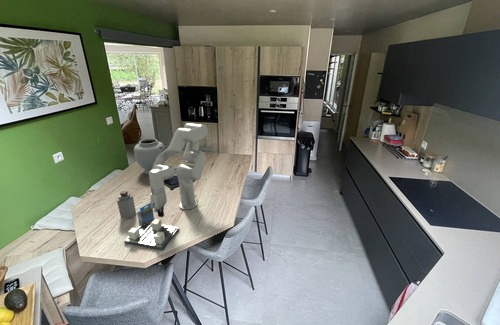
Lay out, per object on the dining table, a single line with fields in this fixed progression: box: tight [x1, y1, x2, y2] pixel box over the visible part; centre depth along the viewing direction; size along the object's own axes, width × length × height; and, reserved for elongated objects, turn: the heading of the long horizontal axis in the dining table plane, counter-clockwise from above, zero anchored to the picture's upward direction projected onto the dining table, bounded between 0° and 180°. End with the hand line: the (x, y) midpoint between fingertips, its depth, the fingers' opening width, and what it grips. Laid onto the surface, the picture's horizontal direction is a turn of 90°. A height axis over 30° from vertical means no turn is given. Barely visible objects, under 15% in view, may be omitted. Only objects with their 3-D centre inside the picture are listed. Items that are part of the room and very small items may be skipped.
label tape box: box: [136, 202, 155, 225], centre depth 152 cm, size 9×4×12 cm, turn 150°
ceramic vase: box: [133, 138, 166, 175], centre depth 221 cm, size 27×27×30 cm
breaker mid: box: [150, 218, 163, 231], centre depth 143 cm, size 4×4×5 cm
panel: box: [123, 221, 180, 252], centre depth 140 cm, size 18×24×3 cm
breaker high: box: [154, 232, 165, 244], centre depth 132 cm, size 4×4×5 cm
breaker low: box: [127, 227, 140, 240], centre depth 135 cm, size 4×4×5 cm
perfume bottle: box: [116, 190, 137, 220], centre depth 156 cm, size 7×7×18 cm
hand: (161, 216), depth 147 cm, fingers closed
